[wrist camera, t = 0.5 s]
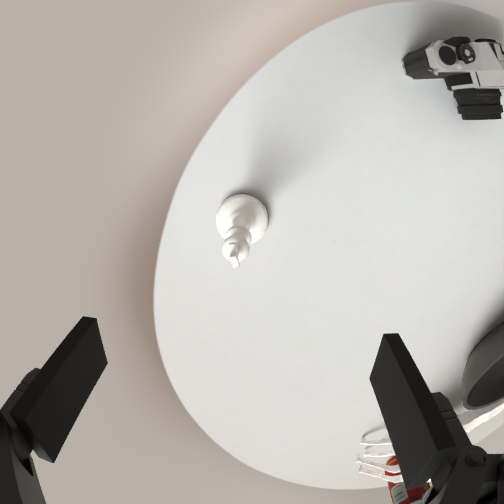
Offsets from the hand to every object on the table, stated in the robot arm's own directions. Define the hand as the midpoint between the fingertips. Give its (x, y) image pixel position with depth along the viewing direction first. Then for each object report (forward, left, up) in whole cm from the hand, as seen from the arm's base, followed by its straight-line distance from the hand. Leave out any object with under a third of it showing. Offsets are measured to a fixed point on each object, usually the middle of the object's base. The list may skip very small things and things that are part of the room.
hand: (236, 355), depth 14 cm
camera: (-16, +22, -19) cm, 33 cm away
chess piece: (-1, -1, -19) cm, 19 cm away
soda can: (+44, +26, -19) cm, 55 cm away
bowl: (+17, +37, -19) cm, 45 cm away
